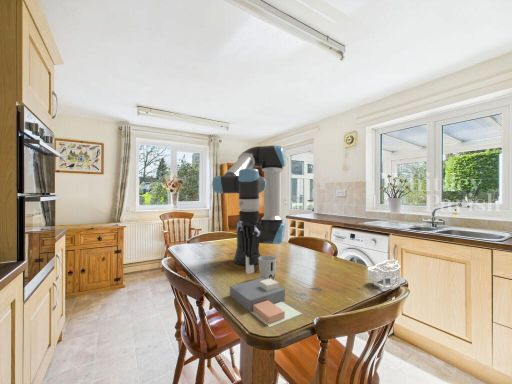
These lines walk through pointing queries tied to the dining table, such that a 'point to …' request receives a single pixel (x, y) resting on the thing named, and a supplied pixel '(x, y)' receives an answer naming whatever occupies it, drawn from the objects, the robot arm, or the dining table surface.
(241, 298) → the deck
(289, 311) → the mat
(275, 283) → the small tile
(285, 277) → the dining table surface
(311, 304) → the dining table surface
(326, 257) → the dining table surface
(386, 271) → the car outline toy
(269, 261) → the cup
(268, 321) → the tile
